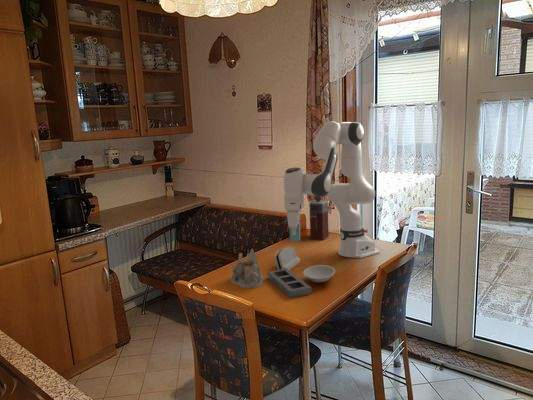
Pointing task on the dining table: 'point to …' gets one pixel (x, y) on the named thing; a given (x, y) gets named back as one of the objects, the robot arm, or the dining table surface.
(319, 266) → the dish
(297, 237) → the square peg
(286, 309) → the dining table surface
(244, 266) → the ceramic cottage
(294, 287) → the grey slotted board
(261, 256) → the dining table surface
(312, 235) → the dark brown tall piece
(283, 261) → the white arch segment
